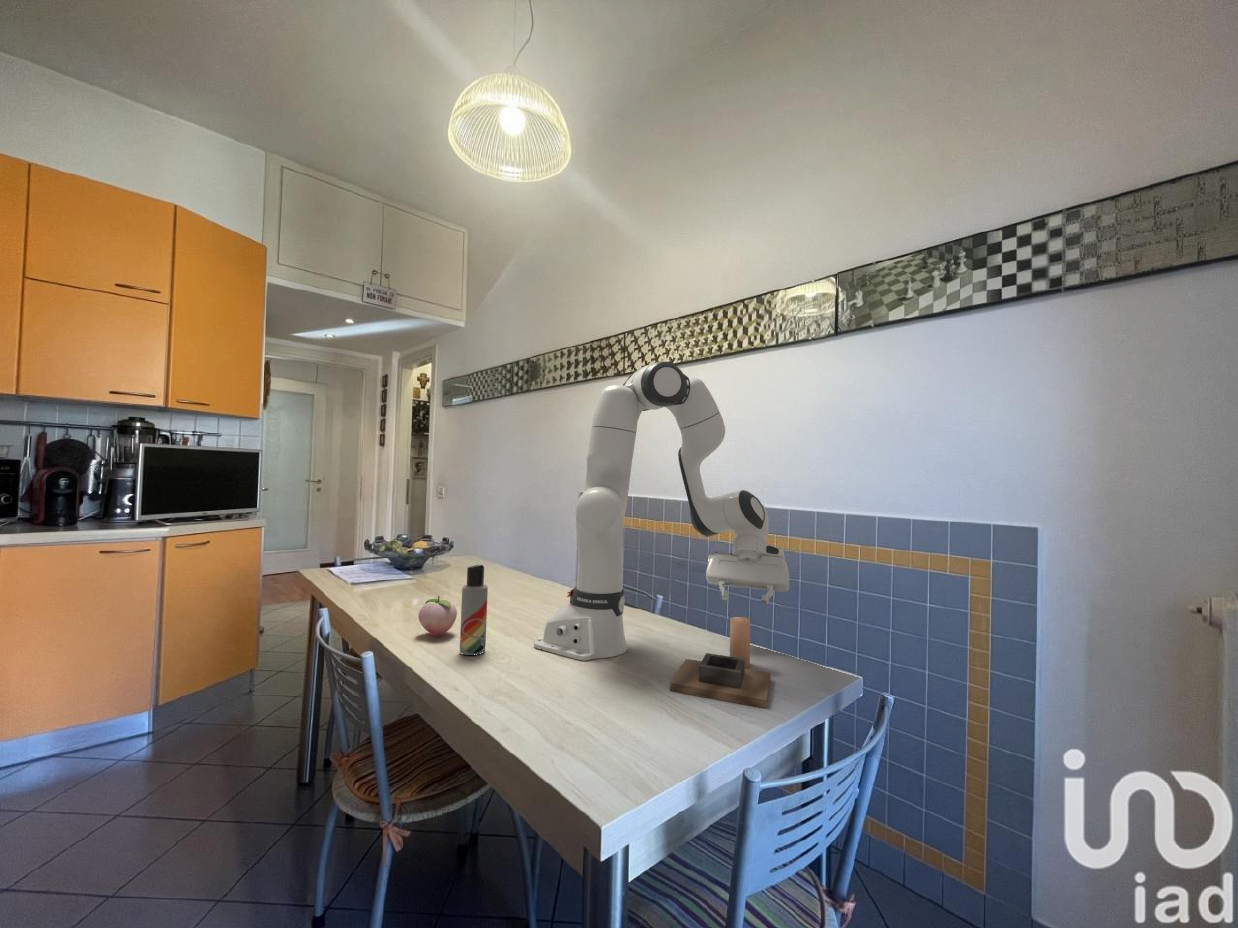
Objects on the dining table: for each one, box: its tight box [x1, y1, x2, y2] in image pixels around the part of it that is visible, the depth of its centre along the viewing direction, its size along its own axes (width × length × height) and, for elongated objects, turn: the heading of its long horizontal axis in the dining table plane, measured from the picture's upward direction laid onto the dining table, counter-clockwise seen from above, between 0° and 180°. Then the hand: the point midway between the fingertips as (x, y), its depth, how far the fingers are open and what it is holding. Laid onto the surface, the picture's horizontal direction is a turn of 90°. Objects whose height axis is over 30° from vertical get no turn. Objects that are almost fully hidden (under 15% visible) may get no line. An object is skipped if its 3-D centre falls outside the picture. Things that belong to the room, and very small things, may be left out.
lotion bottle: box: [459, 564, 489, 656], centre depth 113 cm, size 6×6×20 cm
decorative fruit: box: [417, 595, 458, 636], centre depth 123 cm, size 9×8×10 cm
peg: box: [729, 616, 751, 669], centre depth 110 cm, size 4×4×10 cm
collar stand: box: [669, 652, 772, 709], centre depth 98 cm, size 18×14×4 cm
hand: (744, 600), depth 118 cm, fingers open, 8 cm apart
